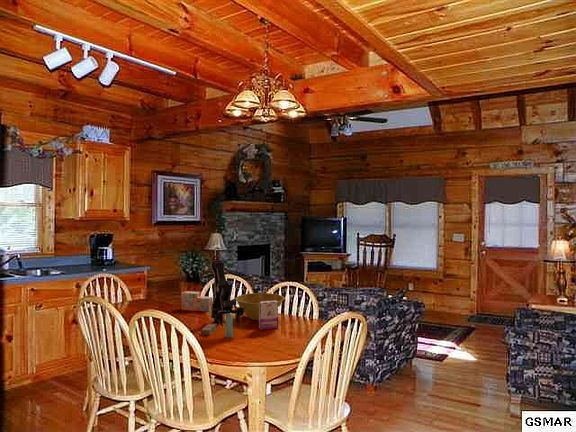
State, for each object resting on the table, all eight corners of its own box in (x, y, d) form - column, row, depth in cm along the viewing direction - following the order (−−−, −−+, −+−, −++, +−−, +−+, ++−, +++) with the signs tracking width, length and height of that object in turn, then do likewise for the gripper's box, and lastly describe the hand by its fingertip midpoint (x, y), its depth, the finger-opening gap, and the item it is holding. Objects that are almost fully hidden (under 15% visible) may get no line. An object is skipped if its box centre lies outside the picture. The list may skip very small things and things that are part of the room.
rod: (226, 335, 261) (226, 312, 261) (233, 335, 261) (233, 313, 260) (224, 337, 257) (224, 314, 257) (231, 337, 257) (231, 314, 257)
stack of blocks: (212, 309, 324) (212, 292, 323) (208, 311, 318) (208, 294, 317) (185, 307, 330) (185, 290, 329) (181, 309, 324) (181, 292, 323)
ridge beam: (208, 328, 275) (208, 323, 275) (216, 328, 275) (216, 324, 274) (201, 335, 261) (201, 330, 261) (209, 335, 261) (209, 330, 261)
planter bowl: (262, 327, 279) (262, 305, 279) (225, 318, 298) (225, 298, 298) (293, 316, 305) (294, 296, 304) (257, 309, 324) (257, 290, 324)
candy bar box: (276, 326, 280) (276, 300, 280) (278, 328, 276) (278, 301, 275) (258, 327, 277) (258, 301, 277) (260, 330, 273) (260, 302, 272)
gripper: (211, 295, 259) (215, 319, 249) (243, 293, 265) (248, 316, 255) (209, 306, 267) (212, 329, 257) (240, 303, 273) (244, 326, 263)
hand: (229, 325), depth 258 cm, fingers open, 8 cm apart
